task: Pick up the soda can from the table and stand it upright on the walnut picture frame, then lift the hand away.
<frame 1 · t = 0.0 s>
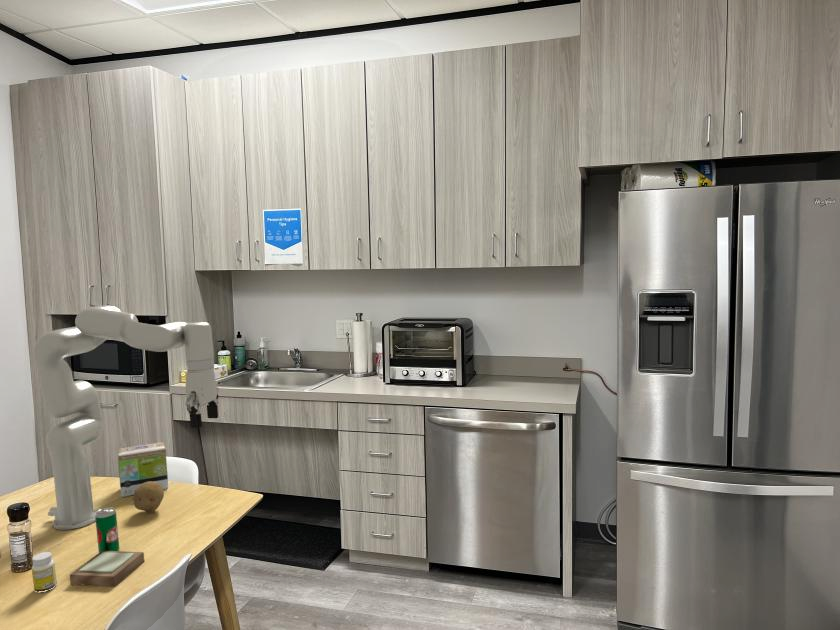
hand: (204, 422, 175), 31 cm above the table, tool pointing down, fingers open, 9 cm apart
soda can: (109, 553, 164), on the table
natural sponge: (149, 513, 189), on the table
walnut picture frame: (108, 572, 153), on the table
tea box: (144, 489, 210), on the table
supplement bottle: (45, 589, 146), on the table
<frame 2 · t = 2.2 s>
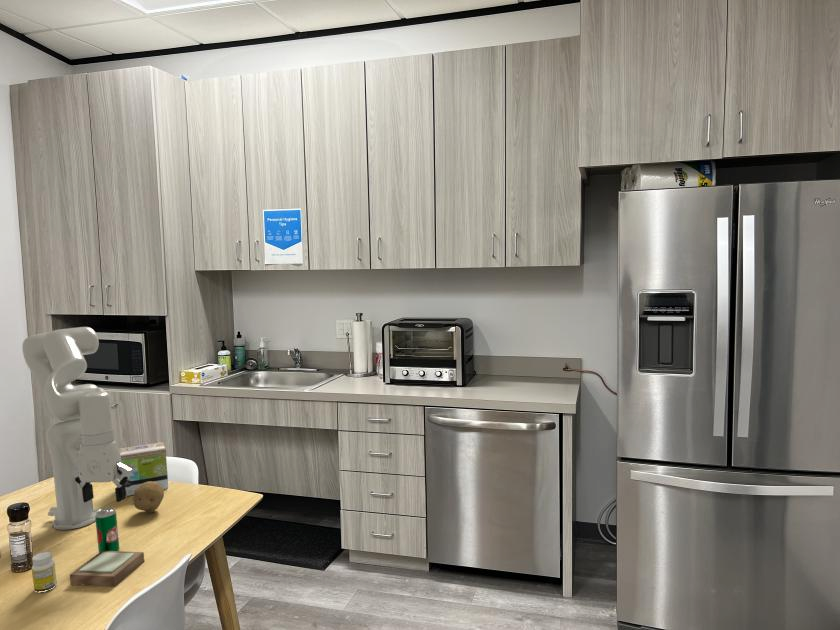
hand: (104, 500, 162), 15 cm above the table, tool pointing down, fingers open, 9 cm apart
nothing on the table moved.
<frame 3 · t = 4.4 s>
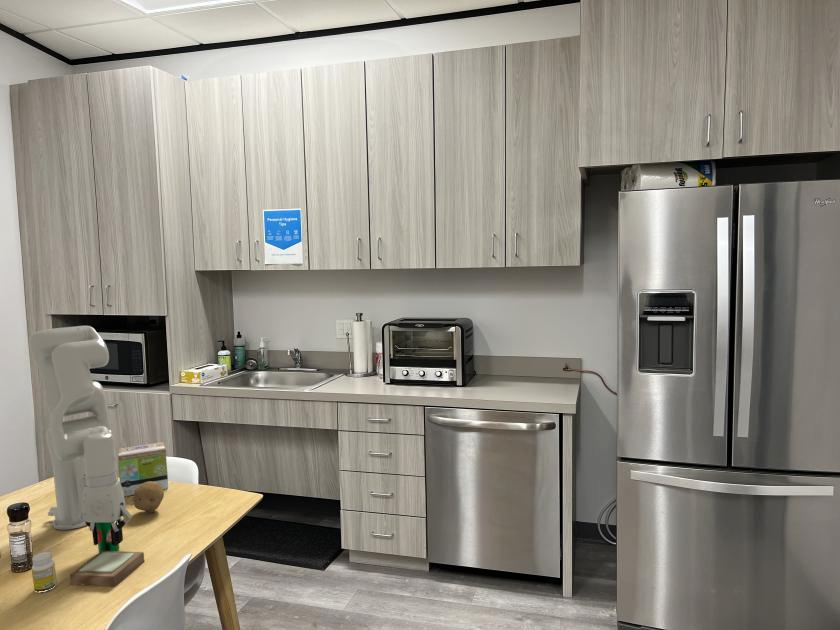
hand: (108, 542, 163), 3 cm above the table, tool pointing down, fingers closed on soda can, 5 cm apart
soda can: (109, 553, 164), on the table, touching gripper
everything else where it was.
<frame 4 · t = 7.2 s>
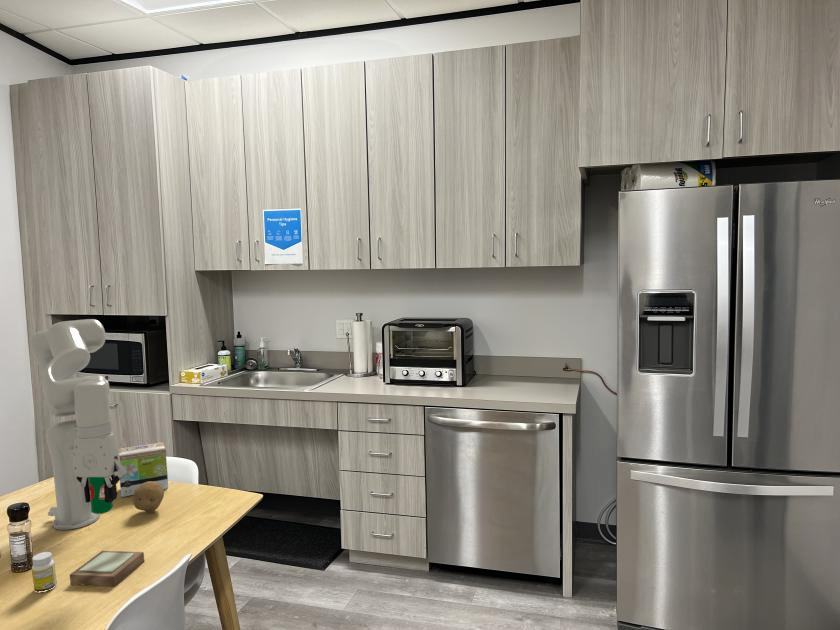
hand: (101, 499, 151), 19 cm above the table, tool pointing down, fingers closed on soda can, 5 cm apart
soda can: (102, 511, 151), point 16 cm above the table, touching gripper
everything else where it was.
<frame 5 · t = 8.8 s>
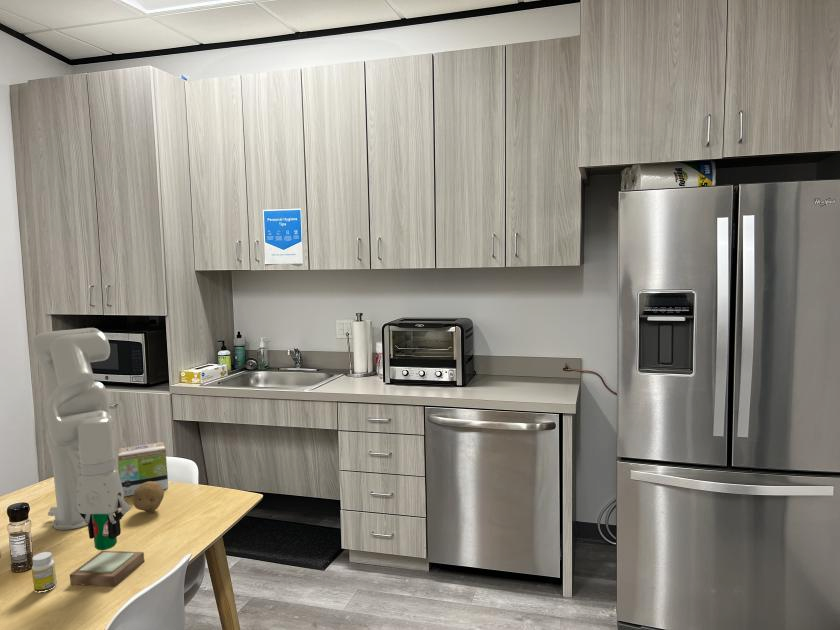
hand: (105, 535, 152), 10 cm above the table, tool pointing down, fingers closed on soda can, 5 cm apart
soda can: (106, 547, 152), point 7 cm above the table, touching gripper
everything else where it was.
when the fingers open (7 cm above the table, at t = 10.2 s): soda can drops 1 cm, resting on walnut picture frame.
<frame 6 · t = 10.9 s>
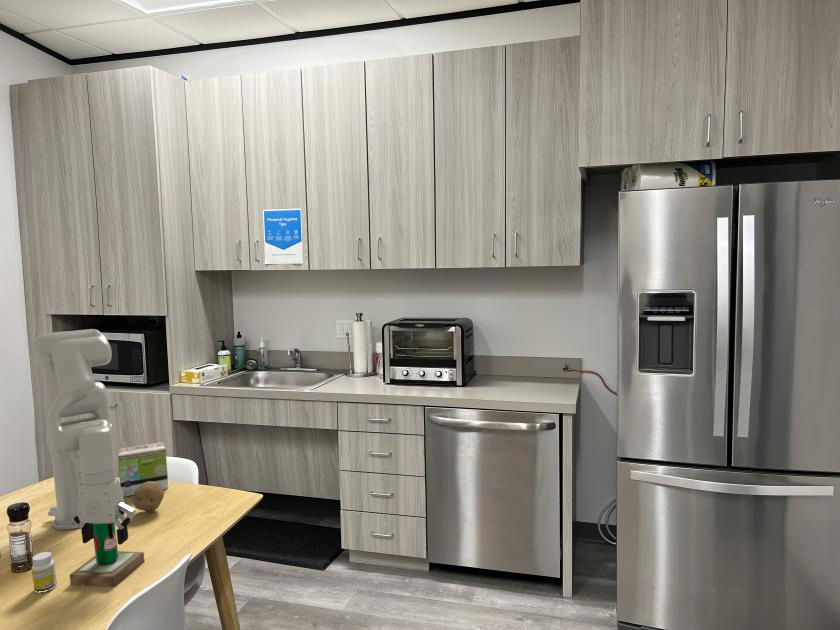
hand: (105, 541, 152), 8 cm above the table, tool pointing down, fingers open, 9 cm apart
soda can: (107, 561, 153), point 3 cm above the table, touching walnut picture frame
everything else where it was.
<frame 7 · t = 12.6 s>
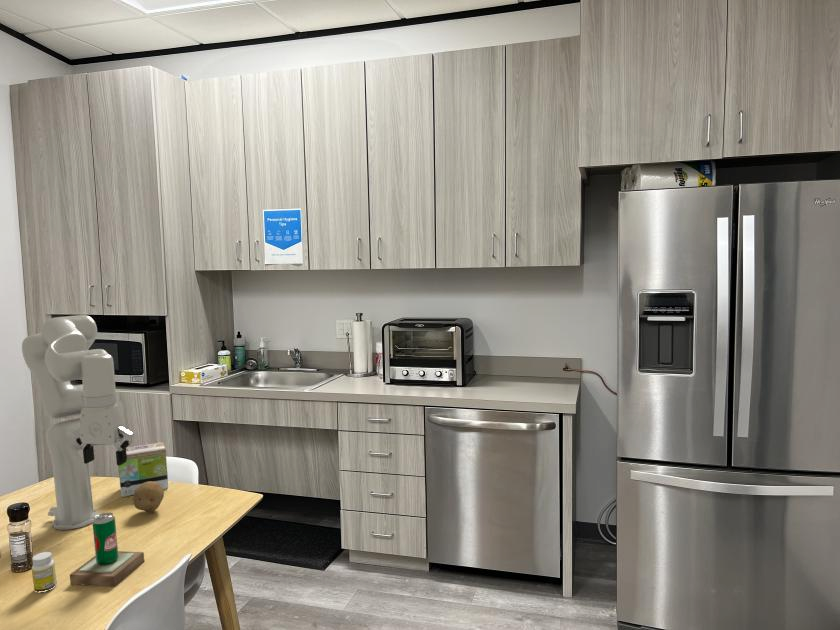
hand: (105, 462, 160), 26 cm above the table, tool pointing down, fingers open, 9 cm apart
nothing on the table moved.
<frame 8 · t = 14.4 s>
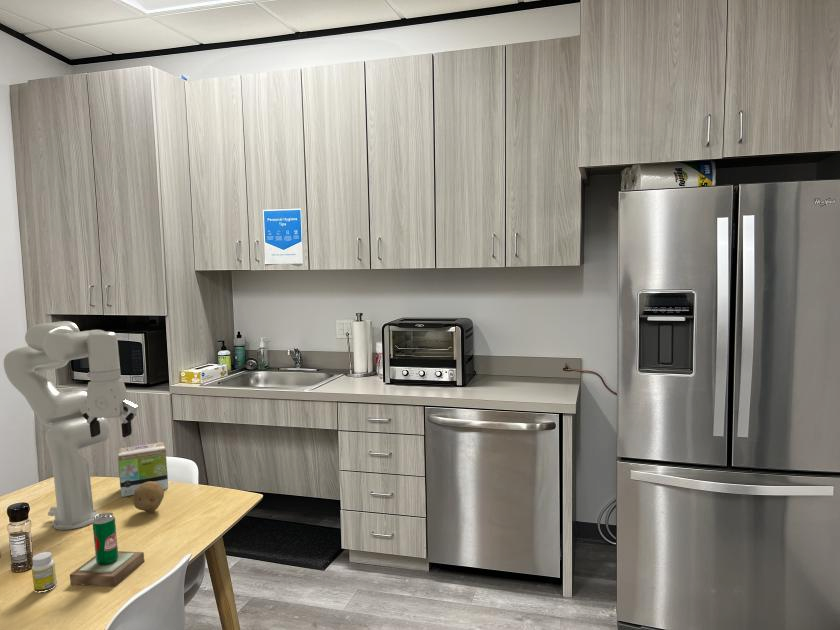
hand: (111, 435, 169), 30 cm above the table, tool pointing down, fingers open, 9 cm apart
nothing on the table moved.
at the end: soda can inside the target area on the walnut picture frame (0.1 cm from its centre), point 2.8 cm above the walnut picture frame's base; soda can tilted 0°; the gripper is holding nothing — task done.
